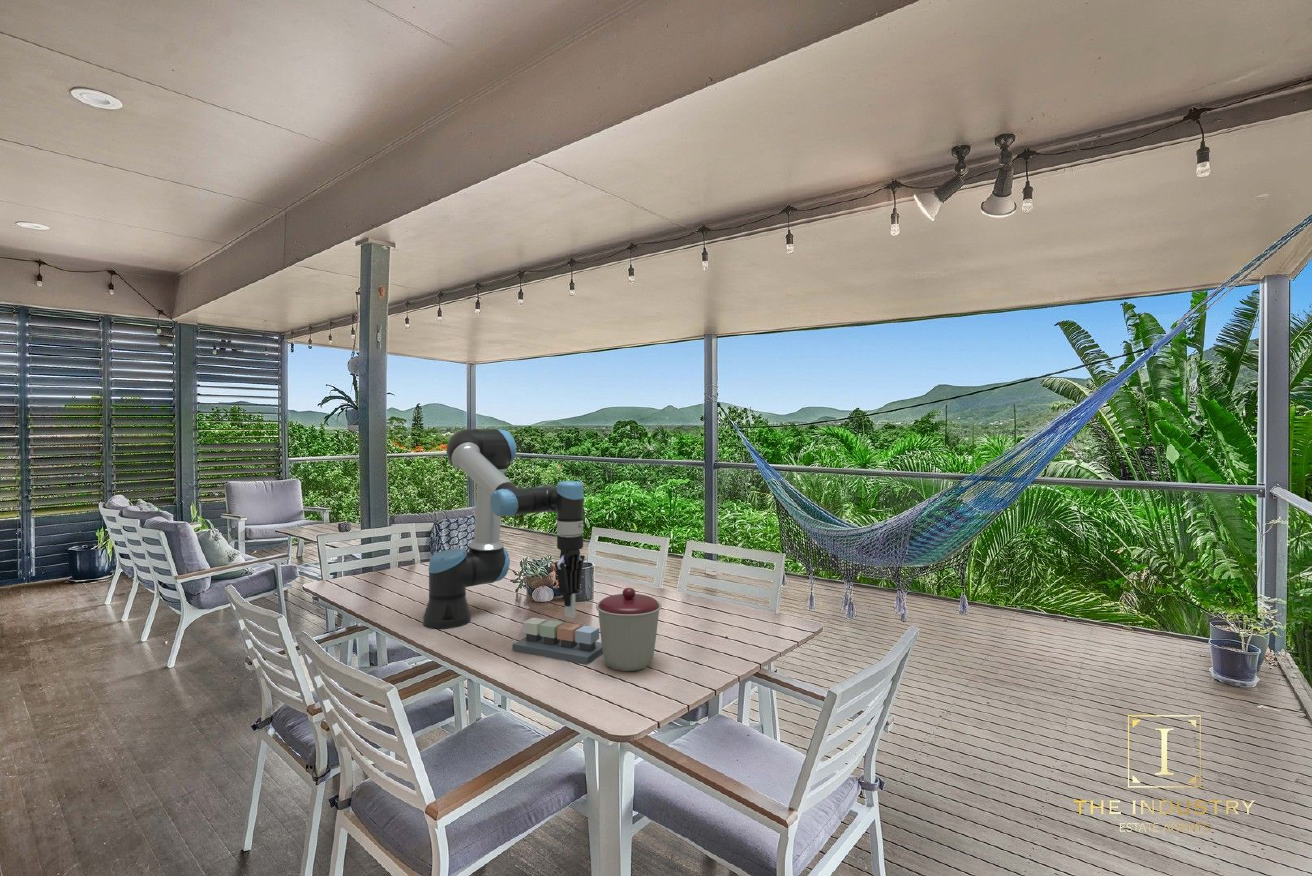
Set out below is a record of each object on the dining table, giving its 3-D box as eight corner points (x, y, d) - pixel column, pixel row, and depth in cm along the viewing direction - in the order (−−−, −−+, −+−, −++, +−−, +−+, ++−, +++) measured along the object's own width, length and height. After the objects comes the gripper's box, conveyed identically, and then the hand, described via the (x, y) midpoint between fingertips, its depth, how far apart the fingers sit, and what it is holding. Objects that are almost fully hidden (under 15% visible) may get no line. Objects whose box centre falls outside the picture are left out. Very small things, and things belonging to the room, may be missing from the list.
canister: (626, 647, 177) (626, 576, 177) (674, 663, 165) (675, 587, 165) (581, 665, 163) (582, 588, 163) (630, 683, 151) (631, 601, 151)
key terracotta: (557, 638, 171) (557, 627, 171) (566, 633, 176) (566, 622, 176) (572, 641, 169) (572, 630, 169) (581, 636, 174) (581, 625, 174)
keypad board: (512, 651, 173) (512, 636, 173) (536, 638, 184) (536, 624, 184) (587, 664, 164) (587, 649, 163) (607, 650, 175) (608, 636, 175)
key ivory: (522, 633, 176) (522, 622, 176) (532, 628, 181) (532, 617, 181) (536, 635, 174) (536, 624, 174) (546, 630, 179) (546, 619, 179)
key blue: (575, 641, 169) (575, 630, 169) (584, 636, 174) (584, 625, 174) (590, 644, 167) (590, 633, 167) (599, 639, 172) (599, 627, 172)
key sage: (539, 635, 174) (539, 625, 174) (549, 630, 178) (549, 620, 178) (554, 638, 172) (554, 627, 172) (563, 633, 176) (563, 622, 176)
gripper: (569, 539, 165) (569, 624, 165) (592, 532, 177) (592, 611, 177) (546, 537, 168) (546, 621, 168) (570, 530, 180) (570, 608, 180)
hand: (569, 616), depth 173 cm, fingers closed
